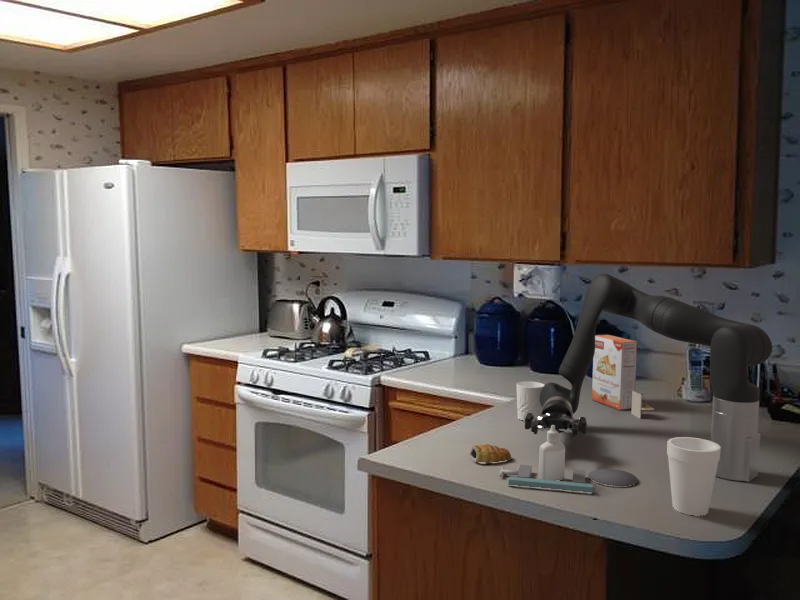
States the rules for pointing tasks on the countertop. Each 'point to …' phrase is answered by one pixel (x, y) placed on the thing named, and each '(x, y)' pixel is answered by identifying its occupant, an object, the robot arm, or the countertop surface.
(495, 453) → the pastry
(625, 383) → the cracker box
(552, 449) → the eye dropper bottle
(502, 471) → the vise
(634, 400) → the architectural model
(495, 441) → the countertop surface
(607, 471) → the mat
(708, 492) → the foam cup
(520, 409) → the white cup
